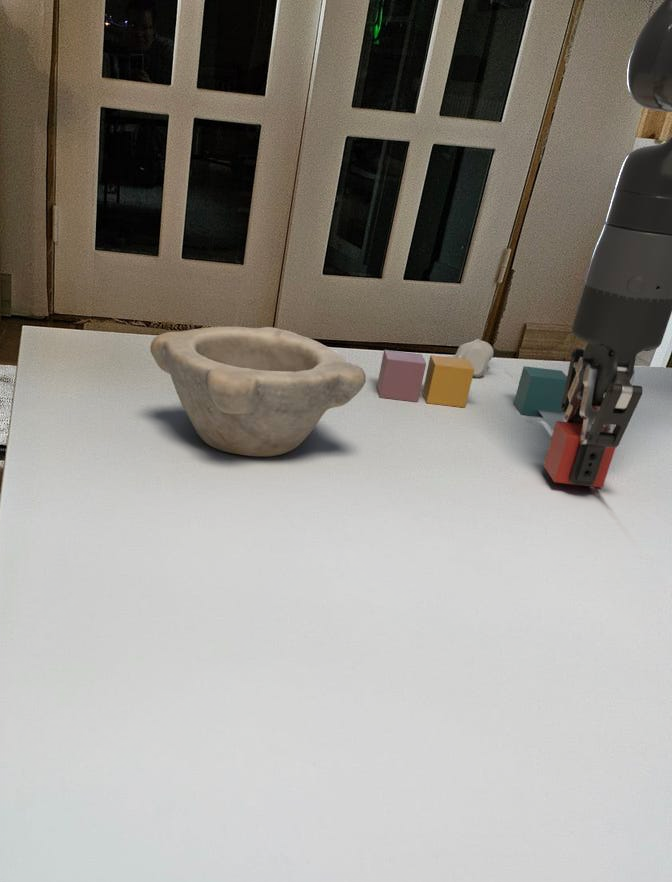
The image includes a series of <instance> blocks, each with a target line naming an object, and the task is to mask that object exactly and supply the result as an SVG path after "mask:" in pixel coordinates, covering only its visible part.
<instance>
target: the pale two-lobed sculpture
mask: <svg viewBox="0 0 672 882" xmlns="http://www.w3.org/2000/svg"><path fill="white" fill-rule="evenodd" d="M494 352H495V351H494V348H493V346H492V345H491V344H490V343H489V342H487V341H484V340H481V339H479V338H476V339H474V340H472V341H469V342H465V343H463V344H461V345H460V346H458V348H457V350H456V353H455V354H454V355H453V356H452V358H459V359H467V360H469V362H470V363H471V365H472V367H473V368H474V373H473V377H472V378H480V377H482V376H483V375H484V374H485V373H486V372H487V370H488V368H489V364H490V361H491V360H492V358H493V356H494ZM458 356H461V357H458Z"/></svg>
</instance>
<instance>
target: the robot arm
mask: <svg viewBox="0 0 672 882" xmlns="http://www.w3.org/2000/svg"><path fill="white" fill-rule="evenodd" d="M629 56H630V57H629V60H628V65H627V70H626V71H627V72H626V75H627V76H626V79H627V80H626V81H627V88H628V92H629V94H630V97H631V98H632V99H633V100H634V102H635V103H637V105H639V106H641V107H642V108H644V109H647V110H651V111H657V112H667V113H672V0H663V1H662V2H661V4H660V5H659V6H658V7H657V8H656V9H655V10H654V12H653V13H652V15H651V16H650V17H649V18H648V19H647V21H646V23H645V24H644V25H643V28H642V29H641V31H640V33H639V34H638V36H637V38H636V41H635V43H634V46H633V48H632V49H631V53H630V55H629ZM576 308H577V309H576V312H575V316H574V319H573V323H572V325H571V333H572V335H573V336H574V337H575V338H577V339H578V340H580V341H582V342H584V343H587V344H586V346H585V348H578V347H575V348H573V350H572V351H571V354H570V356H571V357H570V360H569V366H568V370H567V375H566V376H567V380H566V385H565V390H564V395H563V400H562V404H561V412H562V413H564V415H563V418H562V420H563V422H570V423H579V424H583V426H582V431H581V436H580V443H579V445H578V448H577V451H576V454H575V458H574V461H573V464H572V467H571V471H570V474H569V480H570V482H571V483H572V484H571V485H575V484H576V486H583V485H585V486H584V487H591V486H590V485H592V484H593V483H594V481H595V478H596V475H597V472H598V469H599V466H600V463H601V460H602V457H603V454H604V451H605V448H609V447H616V448H618V447H619V445H620V443H621V441H622V439H623V436H624V434H625V432H626V430H627V428H628V425H629V423H630V421H631V419H632V418H633V417H632V416H633V415H634V412H635V410H636V408H637V406H638V404H639V402H640V400H641V398H642V395H643V386H642V385H635V384H634V383H633V382H634V378H635V364H636V360H637V359H636V357H637V355H638V354H639V353H641V352H643V351H645V352H649V351H654V350H656V349H658V348H659V347H660V346H661V344H662V342H663V340H664V336H665V333H666V331H667V327H668V324H669V321H670V319H671V315H672V135H671V136H670V137H669V138H668V140H666V141H665V142H663V143H660V144H654V145H648V146H642V147H640V148H637V149H634V150H632V151H630V153H629V154H628V155H627V156H626V158H625V159H624V161H623V163H622V166H621V169H620V171H619V175H618V177H617V180H616V184H615V188H614V190H613V194H612V197H611V201H610V204H609V208H608V212H607V214H606V219H605V223H604V225H603V228H602V231H601V233H600V235H599V238H598V240H597V243H596V244H595V247H594V250H593V253H592V256H591V259H590V263H589V267H588V270H587V273H586V277H585V280H584V283H583V287H582V291H581V294H580V298H579V302H578V306H577V307H576ZM580 389H581V392H579V391H580ZM603 426H604V432H601V430H602V428H603Z"/></svg>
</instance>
